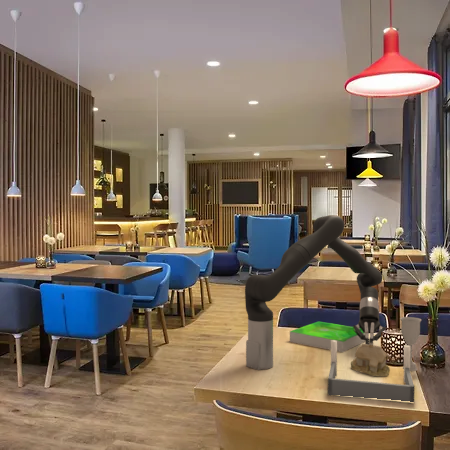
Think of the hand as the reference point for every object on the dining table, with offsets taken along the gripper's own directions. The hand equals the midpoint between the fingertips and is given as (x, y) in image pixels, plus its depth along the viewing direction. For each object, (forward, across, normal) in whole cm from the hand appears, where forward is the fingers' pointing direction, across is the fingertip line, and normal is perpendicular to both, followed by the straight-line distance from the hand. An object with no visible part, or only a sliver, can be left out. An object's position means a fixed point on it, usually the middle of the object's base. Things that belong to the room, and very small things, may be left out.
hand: (369, 348), depth 191 cm
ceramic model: (+13, 0, -7) cm, 15 cm away
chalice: (+9, +14, -3) cm, 17 cm away
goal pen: (+26, 0, -20) cm, 33 cm away
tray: (-13, -16, +19) cm, 29 cm away
